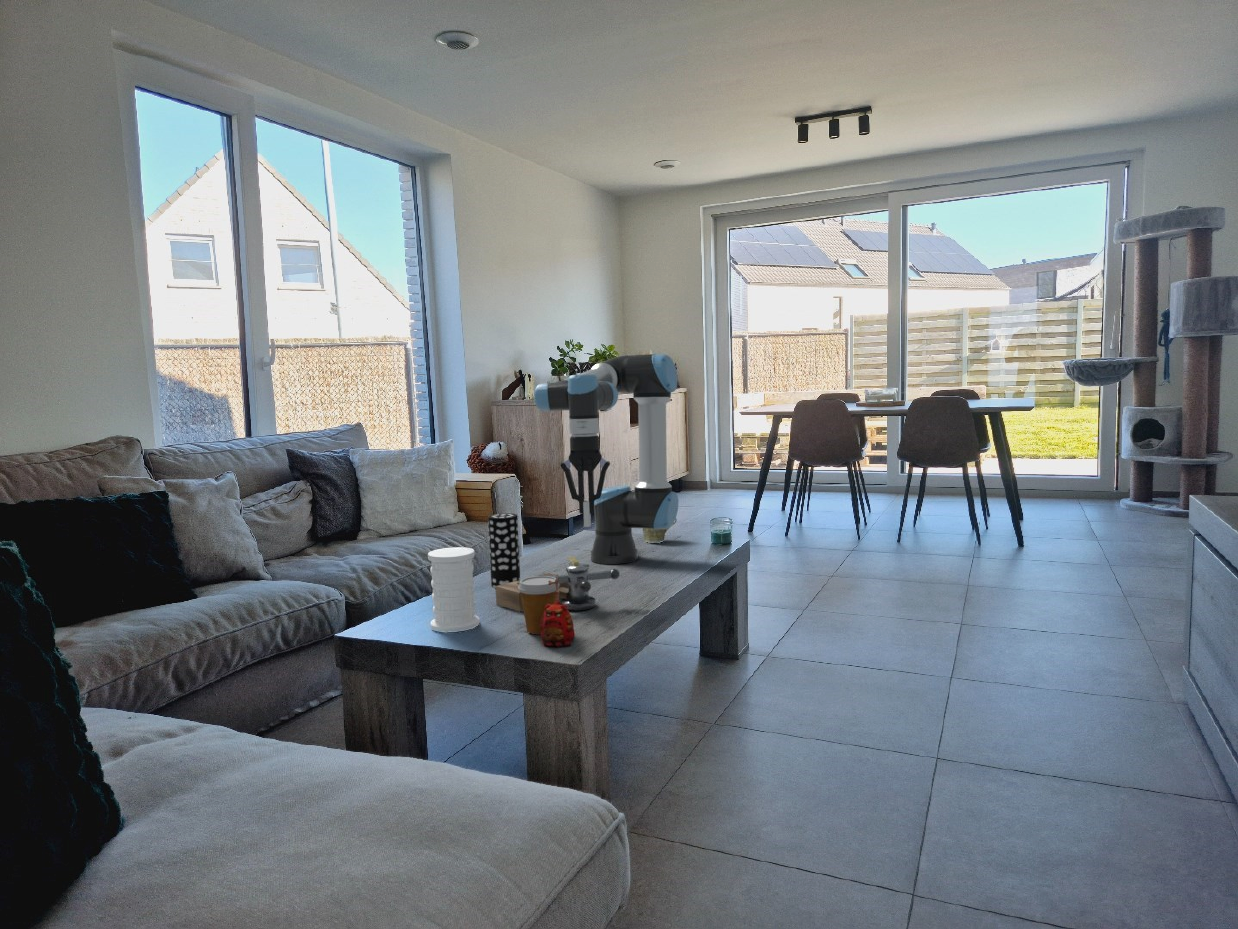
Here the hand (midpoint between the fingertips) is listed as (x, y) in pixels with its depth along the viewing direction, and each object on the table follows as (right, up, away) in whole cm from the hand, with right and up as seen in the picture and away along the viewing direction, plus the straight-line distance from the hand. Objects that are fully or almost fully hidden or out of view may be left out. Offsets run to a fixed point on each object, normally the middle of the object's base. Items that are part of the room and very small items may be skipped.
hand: (587, 526), depth 208 cm
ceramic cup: (+22, -12, +75) cm, 79 cm away
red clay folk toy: (-5, -24, -30) cm, 39 cm away
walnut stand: (-12, -20, +2) cm, 24 cm away
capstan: (-2, -21, -4) cm, 21 cm away
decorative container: (-31, -23, -15) cm, 42 cm away
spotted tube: (-24, -19, +22) cm, 38 cm away
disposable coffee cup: (-10, -23, -21) cm, 33 cm away
